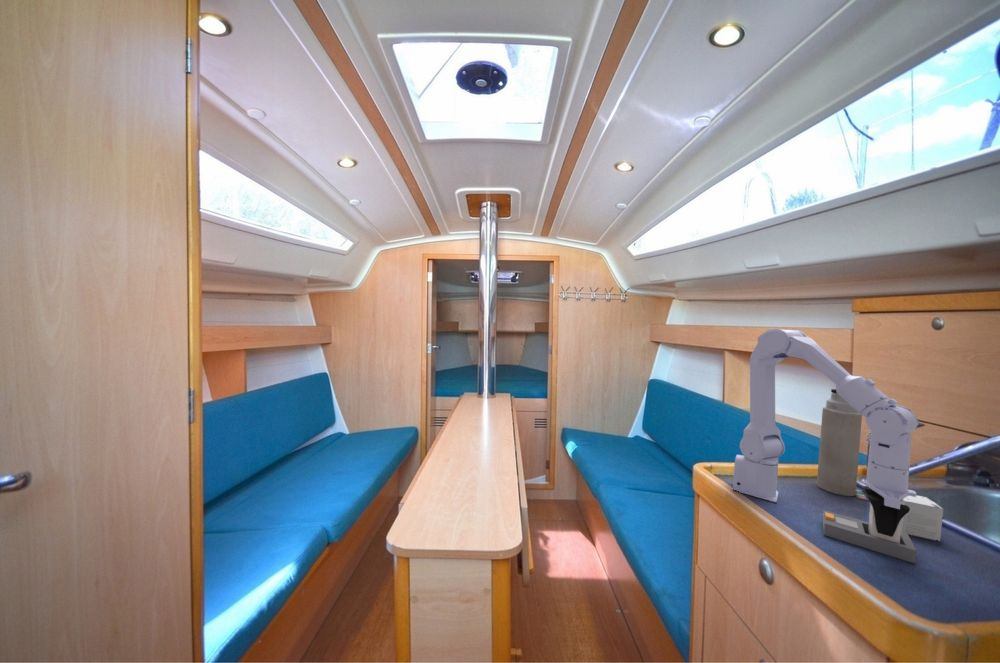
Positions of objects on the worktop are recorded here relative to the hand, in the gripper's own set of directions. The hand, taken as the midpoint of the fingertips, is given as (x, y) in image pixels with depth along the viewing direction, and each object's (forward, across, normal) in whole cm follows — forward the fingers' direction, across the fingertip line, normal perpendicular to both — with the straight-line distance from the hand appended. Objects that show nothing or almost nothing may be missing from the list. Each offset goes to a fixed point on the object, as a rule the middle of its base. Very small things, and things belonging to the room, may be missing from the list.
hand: (882, 529), depth 74 cm
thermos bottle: (+3, +30, +6) cm, 31 cm away
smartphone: (+4, +31, -6) cm, 32 cm away
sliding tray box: (+3, 0, +2) cm, 4 cm away
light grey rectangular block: (+2, 0, 0) cm, 2 cm away
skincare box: (+4, +14, -6) cm, 16 cm away
